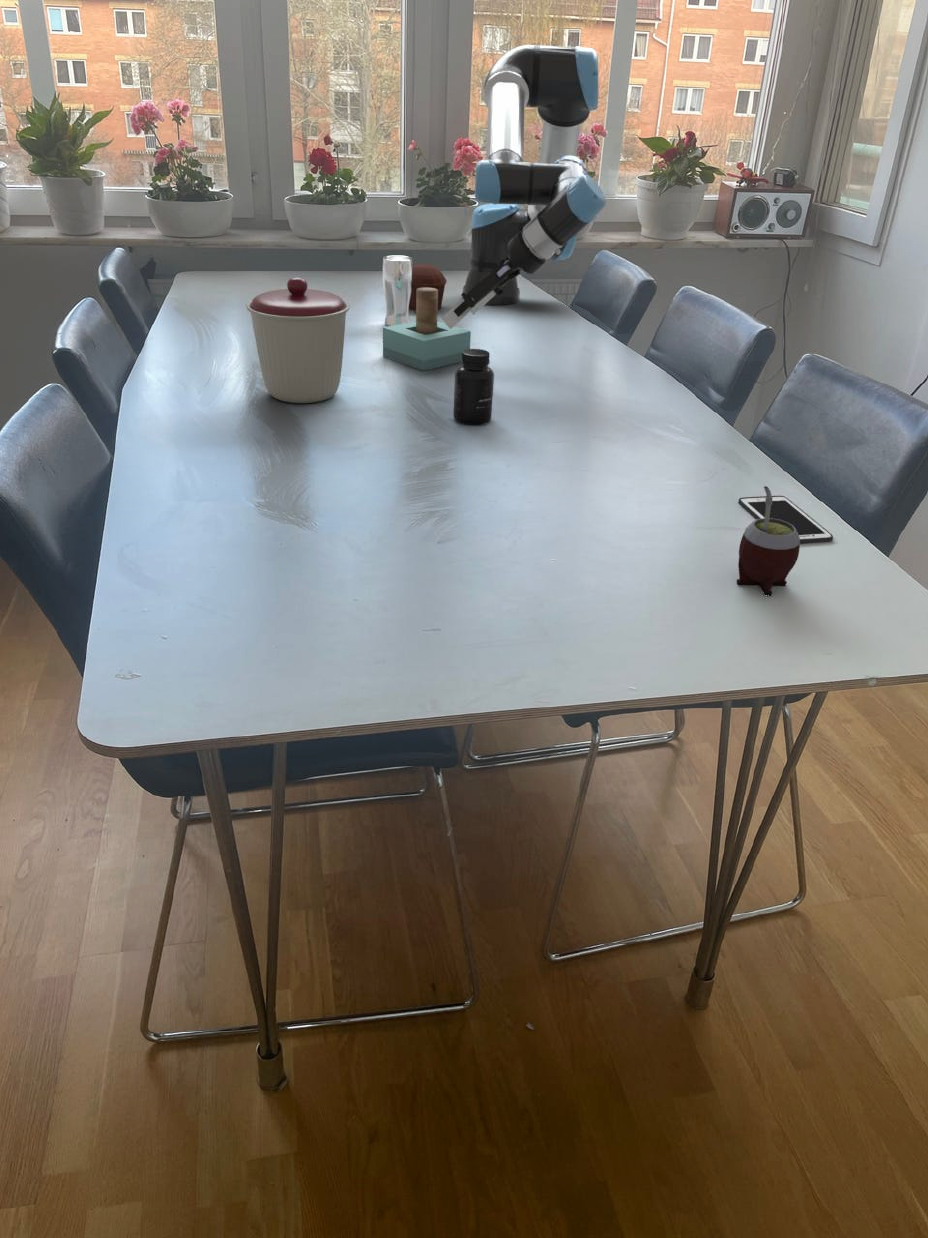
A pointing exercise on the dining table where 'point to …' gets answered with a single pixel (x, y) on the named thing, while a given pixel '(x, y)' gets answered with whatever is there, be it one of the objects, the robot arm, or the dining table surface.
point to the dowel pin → (426, 310)
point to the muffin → (427, 282)
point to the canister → (299, 341)
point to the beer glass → (397, 288)
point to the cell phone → (788, 517)
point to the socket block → (425, 345)
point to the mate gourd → (767, 551)
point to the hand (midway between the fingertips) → (458, 316)
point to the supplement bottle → (473, 388)
